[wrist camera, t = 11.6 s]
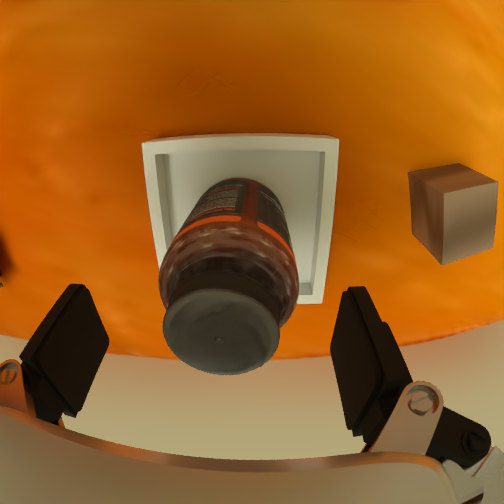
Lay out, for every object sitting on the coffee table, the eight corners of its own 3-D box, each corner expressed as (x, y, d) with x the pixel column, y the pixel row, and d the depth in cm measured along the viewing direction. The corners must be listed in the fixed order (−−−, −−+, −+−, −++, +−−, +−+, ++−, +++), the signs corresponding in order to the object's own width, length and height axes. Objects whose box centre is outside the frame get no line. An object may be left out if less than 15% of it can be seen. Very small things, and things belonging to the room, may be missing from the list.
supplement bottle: (178, 221, 19) (105, 331, 9) (236, 156, 17) (201, 215, 7) (242, 274, 21) (228, 407, 11) (303, 218, 19) (345, 336, 9)
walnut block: (407, 172, 18) (443, 193, 14) (458, 163, 17) (497, 181, 13) (411, 233, 20) (441, 265, 16) (458, 220, 20) (492, 248, 15)
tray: (154, 138, 18) (141, 143, 16) (330, 135, 17) (339, 139, 15) (173, 284, 23) (166, 301, 21) (317, 285, 23) (321, 303, 21)
